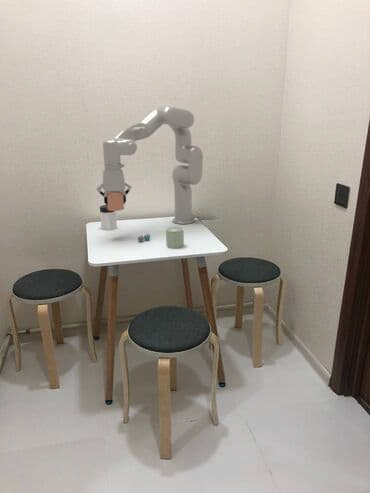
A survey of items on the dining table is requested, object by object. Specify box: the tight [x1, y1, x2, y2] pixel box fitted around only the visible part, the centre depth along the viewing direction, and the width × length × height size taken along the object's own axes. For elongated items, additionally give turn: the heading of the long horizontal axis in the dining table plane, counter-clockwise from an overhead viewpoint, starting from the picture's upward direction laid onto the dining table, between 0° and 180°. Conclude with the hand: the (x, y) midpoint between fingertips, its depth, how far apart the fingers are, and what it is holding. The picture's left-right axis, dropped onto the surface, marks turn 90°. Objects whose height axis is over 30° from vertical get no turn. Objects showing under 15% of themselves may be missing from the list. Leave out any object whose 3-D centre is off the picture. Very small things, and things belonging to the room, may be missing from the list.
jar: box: [99, 204, 118, 231], centre depth 212 cm, size 9×8×12 cm
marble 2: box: [143, 233, 151, 241], centre depth 192 cm, size 3×3×3 cm
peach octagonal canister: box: [107, 191, 125, 212], centre depth 189 cm, size 8×8×8 cm
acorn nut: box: [165, 226, 185, 249], centre depth 182 cm, size 8×8×8 cm
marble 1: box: [137, 235, 145, 242], centre depth 190 cm, size 3×3×3 cm
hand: (115, 204), depth 190 cm, fingers closed on peach octagonal canister, 7 cm apart
